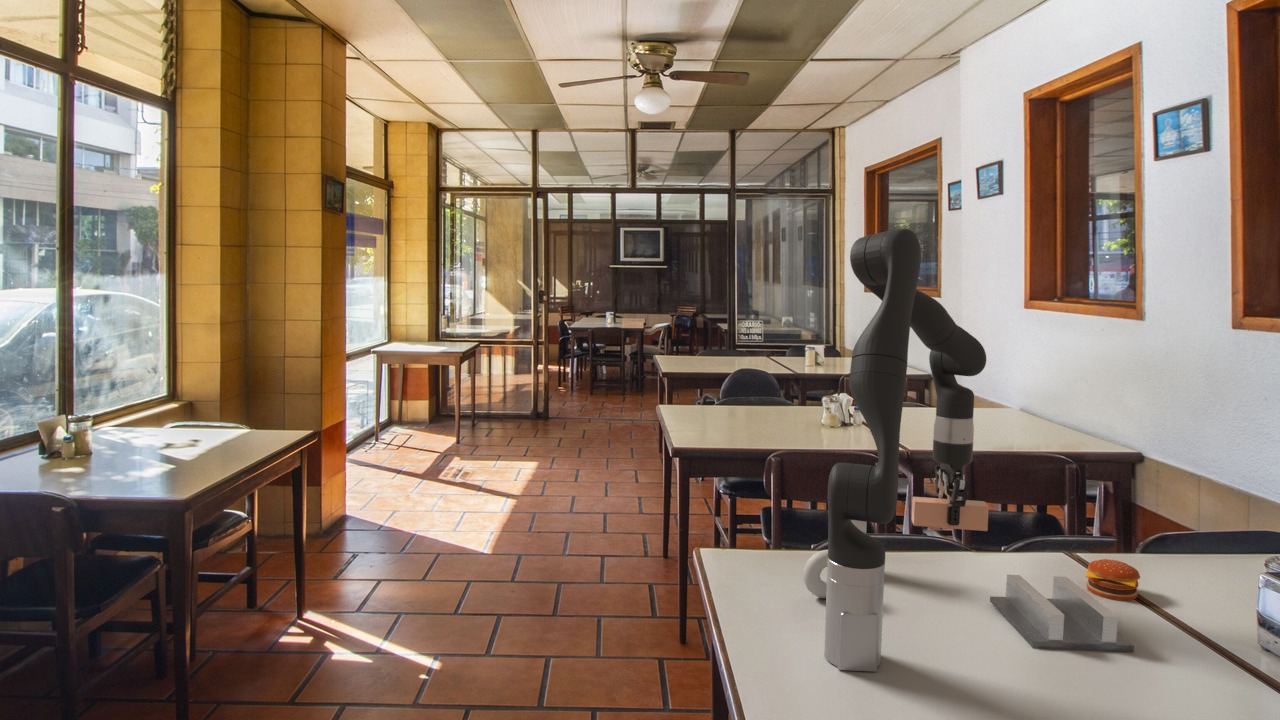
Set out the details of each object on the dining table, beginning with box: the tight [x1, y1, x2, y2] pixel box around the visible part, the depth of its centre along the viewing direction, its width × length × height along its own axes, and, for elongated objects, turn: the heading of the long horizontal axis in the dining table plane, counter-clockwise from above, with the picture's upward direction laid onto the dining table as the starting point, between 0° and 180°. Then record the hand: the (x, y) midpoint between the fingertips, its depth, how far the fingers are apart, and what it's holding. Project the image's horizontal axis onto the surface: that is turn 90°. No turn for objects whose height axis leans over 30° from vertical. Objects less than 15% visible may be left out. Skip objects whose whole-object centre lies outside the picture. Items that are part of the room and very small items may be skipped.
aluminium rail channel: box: [989, 574, 1135, 653], centre depth 146 cm, size 20×17×6 cm
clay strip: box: [911, 496, 990, 532], centre depth 160 cm, size 4×14×5 cm, turn 77°
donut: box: [802, 549, 828, 599], centre depth 158 cm, size 10×4×10 cm, turn 101°
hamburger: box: [1085, 558, 1141, 602], centre depth 163 cm, size 9×10×7 cm
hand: (949, 520), depth 160 cm, fingers closed on clay strip, 4 cm apart
